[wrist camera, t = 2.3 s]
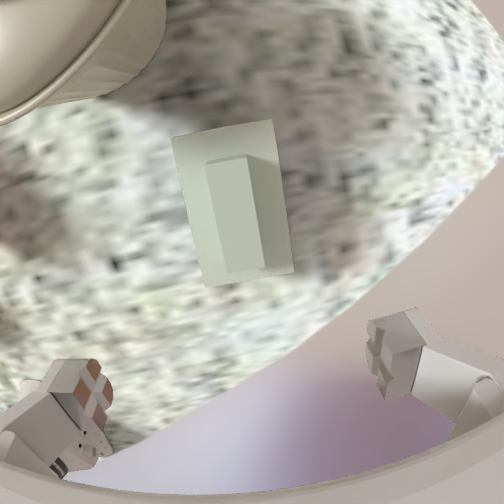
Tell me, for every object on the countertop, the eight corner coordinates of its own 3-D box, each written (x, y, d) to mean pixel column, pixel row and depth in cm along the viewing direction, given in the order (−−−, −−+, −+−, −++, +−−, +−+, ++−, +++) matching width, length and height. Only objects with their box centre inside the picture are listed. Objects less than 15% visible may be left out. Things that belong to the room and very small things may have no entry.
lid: (290, 263, 28) (300, 288, 24) (207, 277, 28) (202, 304, 24) (269, 119, 23) (277, 118, 19) (175, 137, 23) (162, 139, 19)
